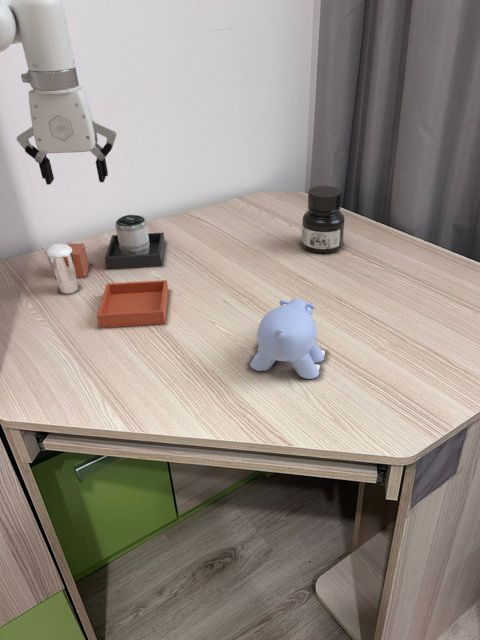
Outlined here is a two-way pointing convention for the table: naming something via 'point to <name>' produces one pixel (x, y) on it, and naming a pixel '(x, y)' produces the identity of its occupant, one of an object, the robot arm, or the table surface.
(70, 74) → the robot arm
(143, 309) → the terracotta tray
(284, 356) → the hippopotamus toy
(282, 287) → the table surface
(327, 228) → the ink bottle
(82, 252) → the terracotta block
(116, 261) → the charcoal tray
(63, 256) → the milkshake
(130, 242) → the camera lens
